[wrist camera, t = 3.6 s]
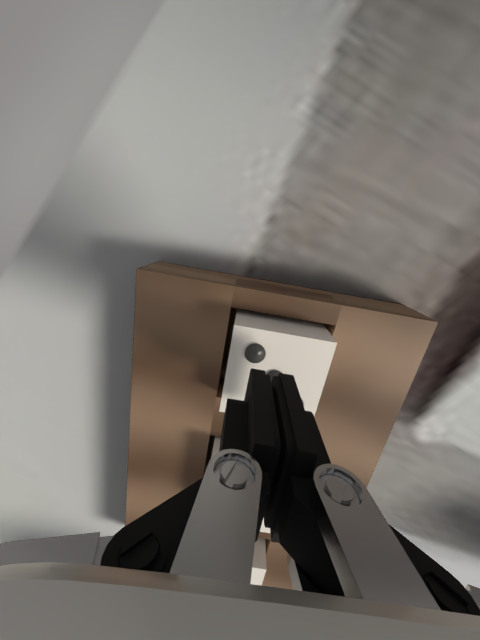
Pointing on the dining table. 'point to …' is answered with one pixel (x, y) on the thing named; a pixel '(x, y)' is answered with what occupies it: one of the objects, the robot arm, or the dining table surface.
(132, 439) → the board
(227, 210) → the dining table surface
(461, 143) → the dining table surface
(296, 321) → the key three
